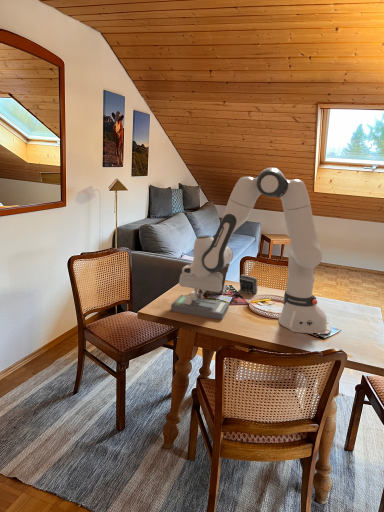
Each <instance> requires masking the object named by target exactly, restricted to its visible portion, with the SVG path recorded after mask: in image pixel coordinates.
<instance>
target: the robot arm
mask: <svg viewBox="0 0 384 512" xmlns="http://www.w3.org/2000/svg"><path fill="white" fill-rule="evenodd" d="M261 195H263V196H266V197H270V198H271V197H274V198H279V199H280V200H281V204H282V209H283V215H284V219H285V224H286V230H287V233H288V237H289V240H290V241H289V246H288V248H289V250H288V264H287V265H288V266H287V267H288V268H287V270H288V272H287V274H288V275H287V282H286V289H285V291H284V294H283V306H282V310H281V313H280V315H279V319H277V320H278V323H279V324H280V325H281V326H283V327H284V328H287V329H288V330H289V331H291V332H293V333H302V334H311V335H314V334H313V333H320V334H328V333H330V334H331V332H332V326H331V324H330V322H328V320H327V316H326V313H325V311H324V310H323V309H322V308H320V307H319V306H318V305H317V304H318V300H317V297H316V295H313V290H314V283H315V268H316V267H318V266H319V264H320V263H321V262H322V258H323V252H322V249H321V245H320V244H321V243H320V240H319V236H318V233H317V229H316V226H315V221H314V218H313V217H314V216H313V211H312V206H311V199H310V196H309V193H308V189H307V186H306V184H305V182H304V181H303V180H301V179H298V178H295V179H294V178H293V179H287V178H286V176H285V174H284V172H283V171H282V170H281V169H280V168H277V167H274V166H273V167H267V168H265V169H263V170H261V172H260V173H259V174H258V175H256V177H252V176H241V177H240V178H239V179H238V180H237V182H236V183H235V185H234V186H233V189H232V192H231V193H230V196H229V198H228V201H227V204H226V207H225V211H224V213H223V216H222V219H221V220H220V221H221V222H220V224H219V226H218V228H217V231H216V232H215V235H214V237H213V236H212V235H209V234H208V235H200V236H198V237H196V238H195V240H194V244H193V253H192V255H193V260H192V263H191V264H187V265H185V266H183V267H182V268H181V273H180V276H179V279H178V280H179V281H178V284H179V286H180V287H182V288H190V289H194V290H193V291H195V293H196V298H202V299H204V295H205V293H204V292H205V291H206V290H207V291H213V292H220V291H221V290H222V281H223V275H222V274H221V273H220V272H219V271H220V270H221V269H222V268H223V267H225V266H226V265H227V264H229V263H231V262H232V260H233V258H234V252H233V250H232V249H231V247H230V246H228V245H229V243H230V240H231V237H232V236H233V234H234V233H235V231H237V229H239V227H241V226H243V224H244V223H246V222H247V220H248V219H249V218H250V216H251V214H252V212H253V210H254V207H255V204H256V202H257V200H258V198H259V197H260V196H261ZM220 274H221V275H220ZM200 289H201V290H202V292H201V293H199V290H200ZM320 334H319V335H320ZM328 335H329V334H328Z"/></svg>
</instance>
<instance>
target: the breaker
mask: <svg viewBox="0 0 384 512" xmlns="http://www.w3.org/2000/svg"><path fill="white" fill-rule="evenodd" d="M185 296H186V299H185V304H188V305H190V304H191V303H192V296H191V294H187V295H185Z"/></svg>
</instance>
